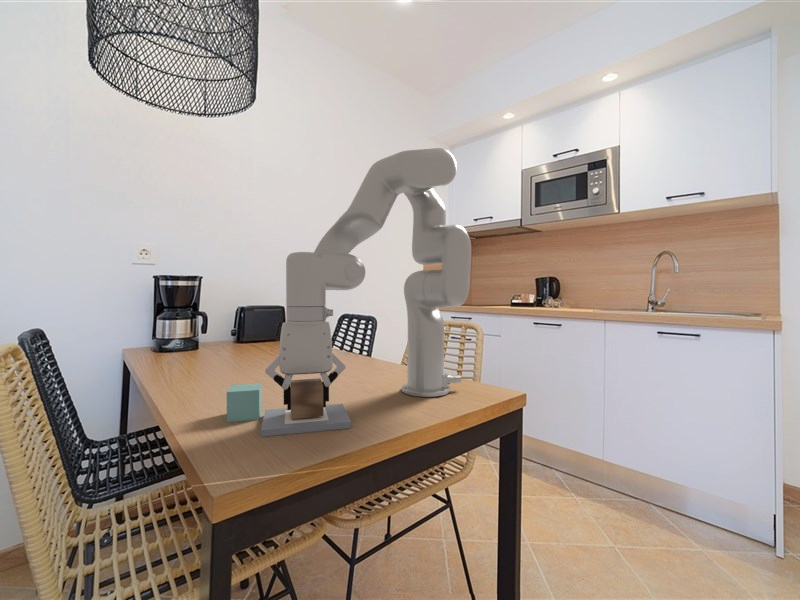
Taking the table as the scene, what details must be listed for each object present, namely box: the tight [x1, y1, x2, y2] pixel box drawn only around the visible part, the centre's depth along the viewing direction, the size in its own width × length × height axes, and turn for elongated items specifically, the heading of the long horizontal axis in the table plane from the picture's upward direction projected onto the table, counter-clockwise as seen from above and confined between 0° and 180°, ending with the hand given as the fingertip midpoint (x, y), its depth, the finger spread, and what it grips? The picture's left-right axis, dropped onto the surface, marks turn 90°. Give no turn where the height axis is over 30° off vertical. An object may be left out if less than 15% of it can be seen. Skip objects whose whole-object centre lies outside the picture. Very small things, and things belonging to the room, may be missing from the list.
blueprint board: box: [260, 403, 352, 438], centre depth 74 cm, size 16×12×1 cm
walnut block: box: [290, 377, 324, 419], centre depth 74 cm, size 6×6×6 cm
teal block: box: [226, 382, 263, 423], centre depth 77 cm, size 6×6×6 cm
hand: (306, 405), depth 74 cm, fingers closed on walnut block, 5 cm apart
